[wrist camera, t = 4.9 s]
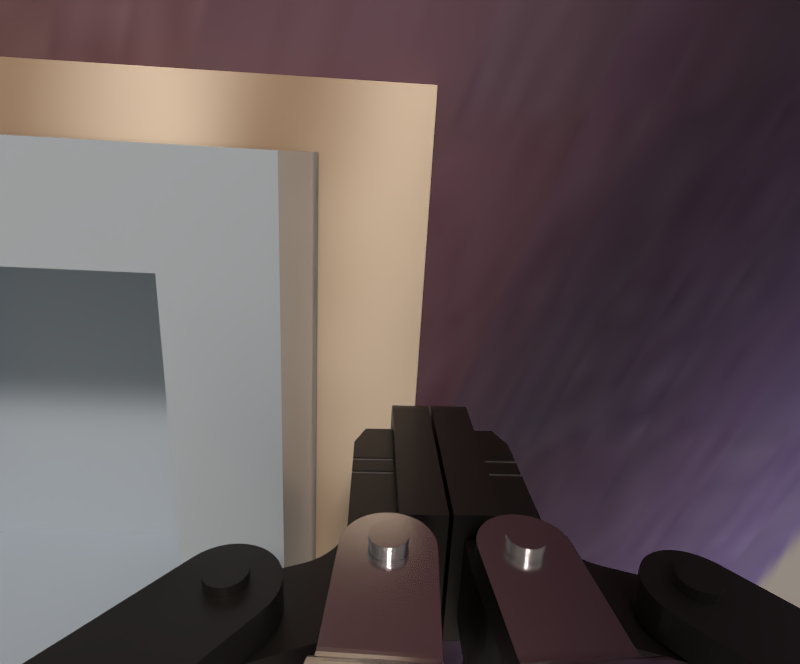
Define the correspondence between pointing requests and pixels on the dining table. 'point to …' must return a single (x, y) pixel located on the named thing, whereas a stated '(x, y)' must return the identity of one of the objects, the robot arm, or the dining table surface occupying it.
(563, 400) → the dining table surface
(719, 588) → the robot arm
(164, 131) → the tan wooden board
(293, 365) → the holder
